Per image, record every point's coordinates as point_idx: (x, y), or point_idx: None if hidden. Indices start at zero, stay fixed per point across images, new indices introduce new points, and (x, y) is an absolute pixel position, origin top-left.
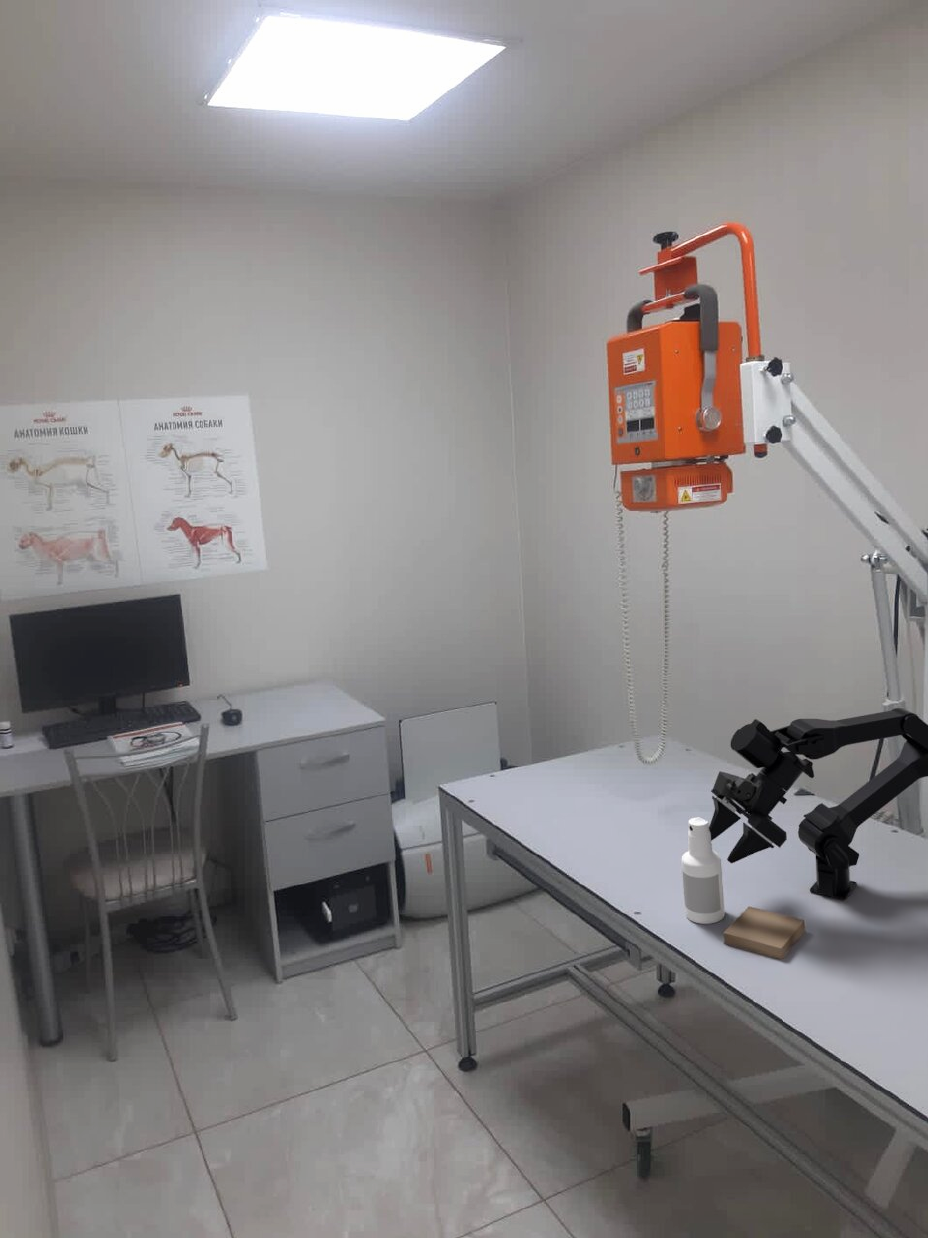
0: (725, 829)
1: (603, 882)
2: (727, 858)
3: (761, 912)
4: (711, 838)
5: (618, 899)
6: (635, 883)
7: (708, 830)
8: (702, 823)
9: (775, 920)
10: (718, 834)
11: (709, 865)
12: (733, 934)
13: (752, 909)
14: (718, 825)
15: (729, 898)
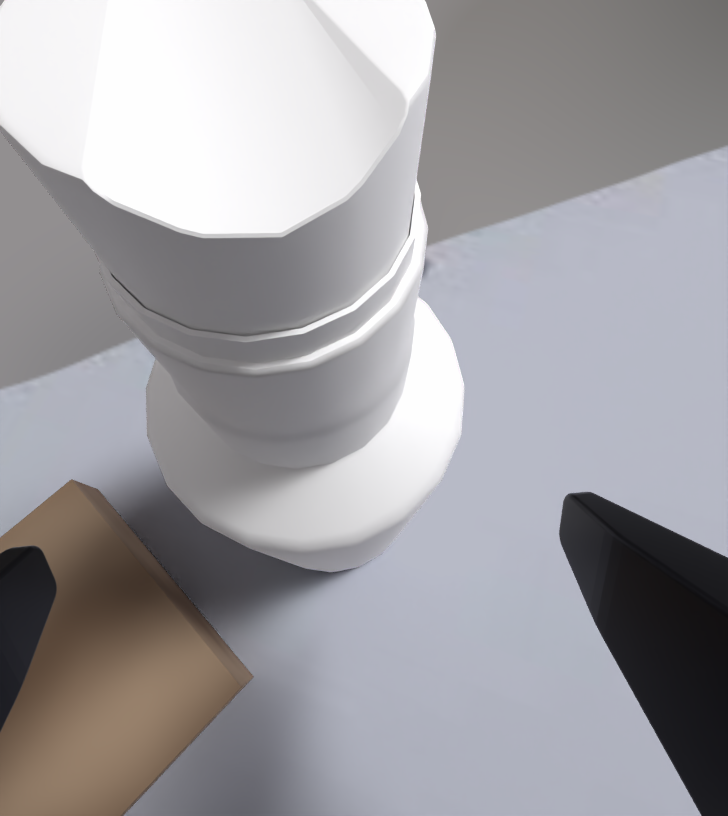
0: (697, 797)
1: (661, 216)
2: (21, 549)
3: (156, 733)
4: (577, 558)
5: (527, 234)
6: (641, 310)
7: (134, 292)
8: (61, 57)
9: (49, 780)
10: (621, 658)
11: (149, 406)
12: (37, 515)
13: (203, 694)
14: (719, 695)
15: (445, 644)
